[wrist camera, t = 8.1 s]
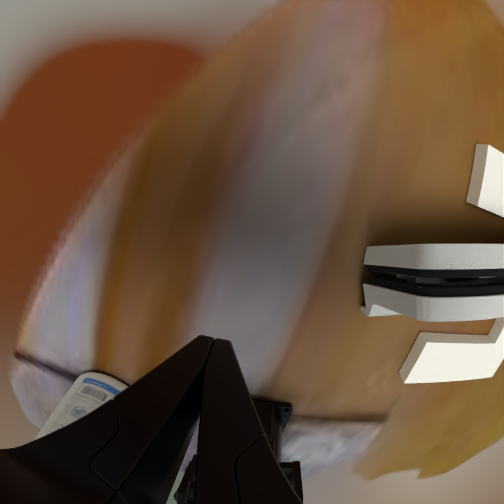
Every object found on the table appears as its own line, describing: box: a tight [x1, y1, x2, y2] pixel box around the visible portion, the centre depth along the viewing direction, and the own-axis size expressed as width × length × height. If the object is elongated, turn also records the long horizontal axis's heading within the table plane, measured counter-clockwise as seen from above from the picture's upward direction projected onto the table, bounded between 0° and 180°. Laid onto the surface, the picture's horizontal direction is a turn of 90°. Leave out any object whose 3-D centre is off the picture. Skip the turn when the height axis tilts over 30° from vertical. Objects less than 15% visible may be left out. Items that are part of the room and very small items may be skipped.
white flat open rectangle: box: [399, 144, 504, 383], centre depth 17 cm, size 20×13×2 cm, turn 171°
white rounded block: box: [361, 244, 504, 322], centre depth 14 cm, size 17×5×10 cm, turn 92°
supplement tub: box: [34, 372, 128, 440], centre depth 19 cm, size 10×10×15 cm
